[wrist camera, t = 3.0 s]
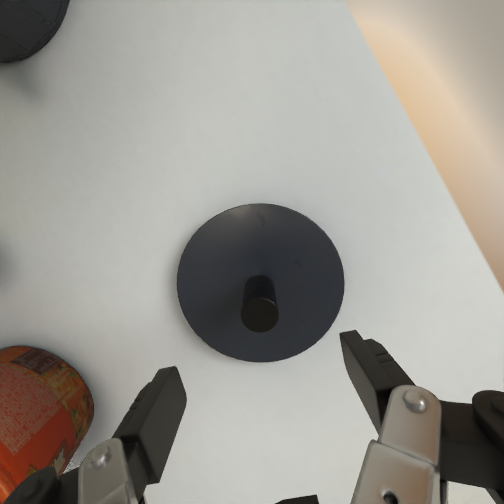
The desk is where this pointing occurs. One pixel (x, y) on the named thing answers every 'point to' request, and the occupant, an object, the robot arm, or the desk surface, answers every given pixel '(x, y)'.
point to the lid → (260, 283)
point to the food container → (39, 414)
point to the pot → (28, 26)
